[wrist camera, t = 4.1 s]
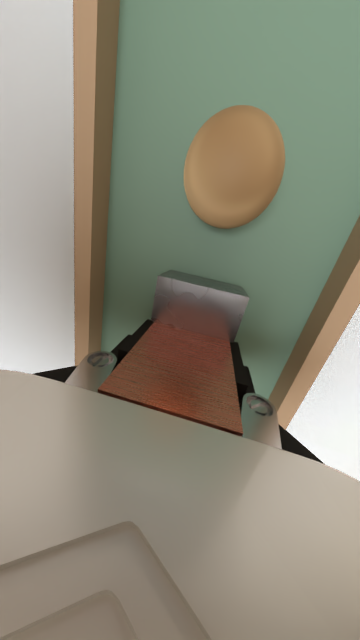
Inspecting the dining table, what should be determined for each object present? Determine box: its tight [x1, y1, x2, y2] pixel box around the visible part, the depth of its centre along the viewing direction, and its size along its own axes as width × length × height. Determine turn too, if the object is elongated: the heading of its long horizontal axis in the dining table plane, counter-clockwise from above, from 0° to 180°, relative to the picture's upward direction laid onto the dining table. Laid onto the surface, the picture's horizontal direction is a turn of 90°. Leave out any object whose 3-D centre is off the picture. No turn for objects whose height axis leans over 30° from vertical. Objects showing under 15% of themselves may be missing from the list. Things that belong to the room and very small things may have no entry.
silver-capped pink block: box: [97, 270, 250, 437], centre depth 9 cm, size 7×4×8 cm, turn 168°
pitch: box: [73, 0, 360, 430], centre depth 10 cm, size 24×15×3 cm, turn 168°
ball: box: [184, 105, 285, 229], centre depth 8 cm, size 4×4×4 cm
